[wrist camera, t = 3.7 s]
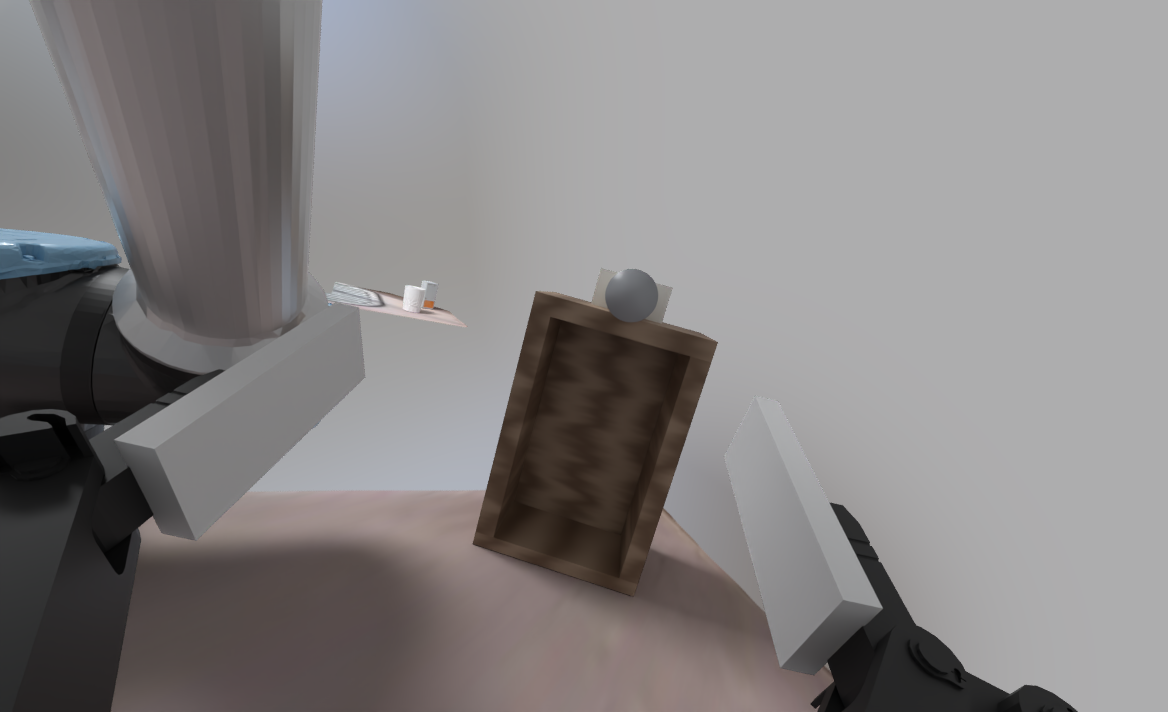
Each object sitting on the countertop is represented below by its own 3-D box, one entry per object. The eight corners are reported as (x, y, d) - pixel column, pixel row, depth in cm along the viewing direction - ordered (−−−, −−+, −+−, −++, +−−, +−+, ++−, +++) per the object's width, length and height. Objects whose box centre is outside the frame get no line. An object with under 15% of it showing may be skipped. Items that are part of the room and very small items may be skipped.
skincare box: (422, 308, 188) (427, 282, 186) (416, 305, 190) (421, 280, 188) (433, 309, 192) (439, 284, 190) (428, 307, 195) (433, 282, 193)
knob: (675, 335, 32) (690, 284, 31) (574, 307, 32) (587, 256, 32) (659, 321, 49) (669, 288, 49) (594, 303, 50) (603, 270, 49)
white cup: (396, 308, 170) (401, 284, 168) (407, 308, 178) (412, 285, 176) (414, 313, 169) (419, 289, 167) (424, 313, 177) (429, 290, 175)
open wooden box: (472, 543, 45) (535, 291, 40) (501, 499, 55) (554, 292, 50) (633, 596, 44) (717, 342, 39) (633, 541, 54) (700, 332, 49)
